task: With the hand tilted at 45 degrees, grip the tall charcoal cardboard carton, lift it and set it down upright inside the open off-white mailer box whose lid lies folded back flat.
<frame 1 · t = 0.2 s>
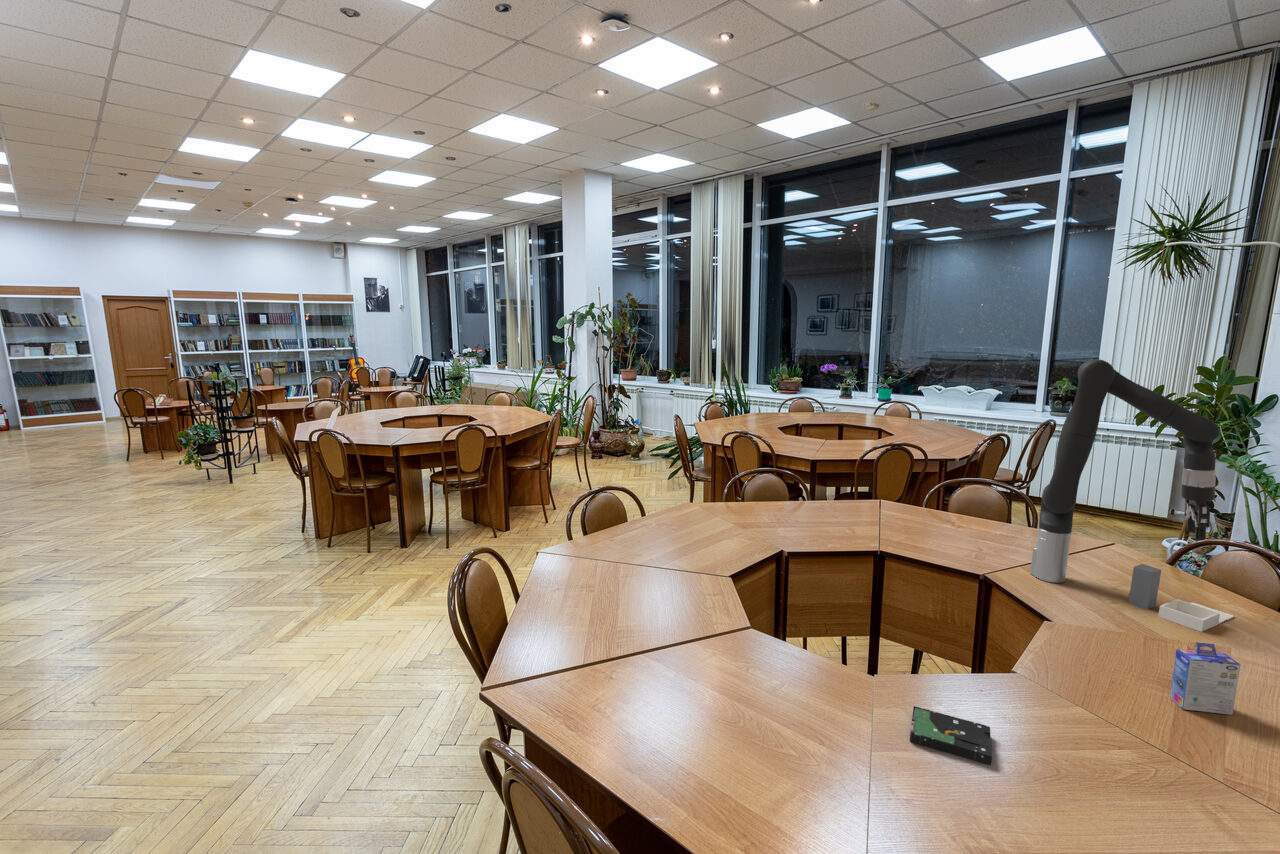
hand: (1195, 535, 186), 22 cm above the table, tool pointing down, fingers open, 8 cm apart
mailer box: (1187, 620, 179), on the table
ink cartridge box: (1199, 706, 138), on the table
charcoal carton: (1141, 604, 189), on the table
disk drive: (949, 741, 126), on the table
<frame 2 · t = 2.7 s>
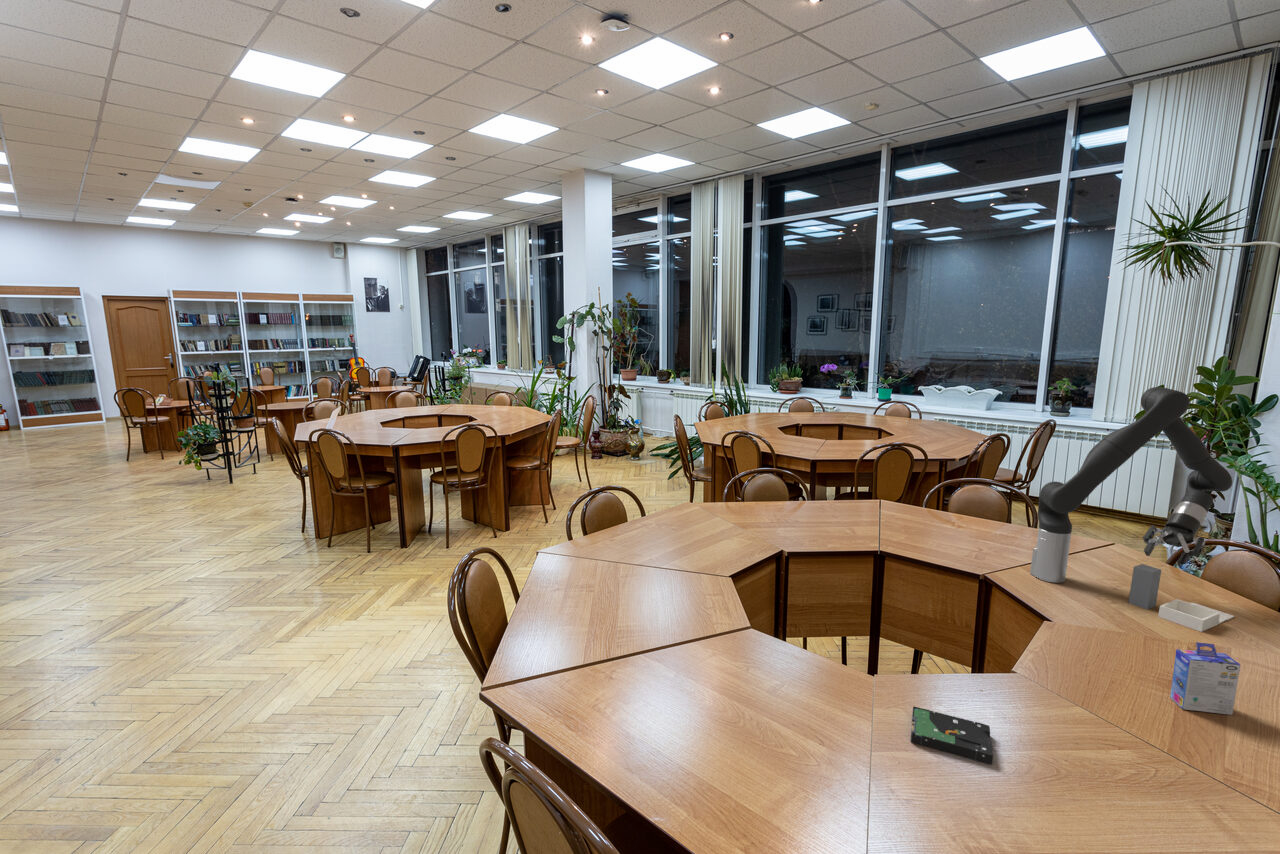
hand: (1162, 559, 191), 13 cm above the table, tool tilted 45°, fingers open, 8 cm apart
nothing on the table moved.
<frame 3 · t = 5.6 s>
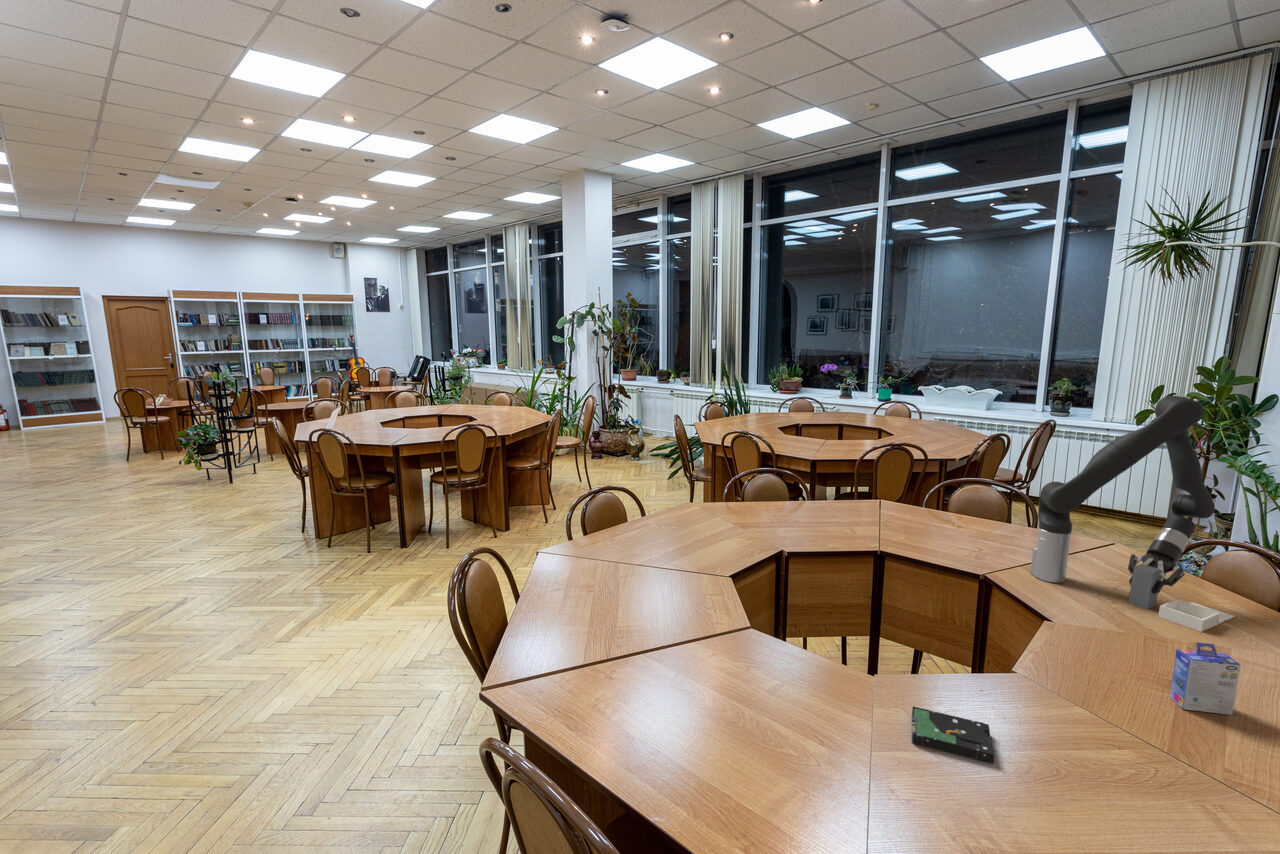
hand: (1142, 589, 188), 5 cm above the table, tool tilted 45°, fingers closed on charcoal carton, 5 cm apart
charcoal carton: (1141, 604, 189), on the table, touching gripper
everything else where it was.
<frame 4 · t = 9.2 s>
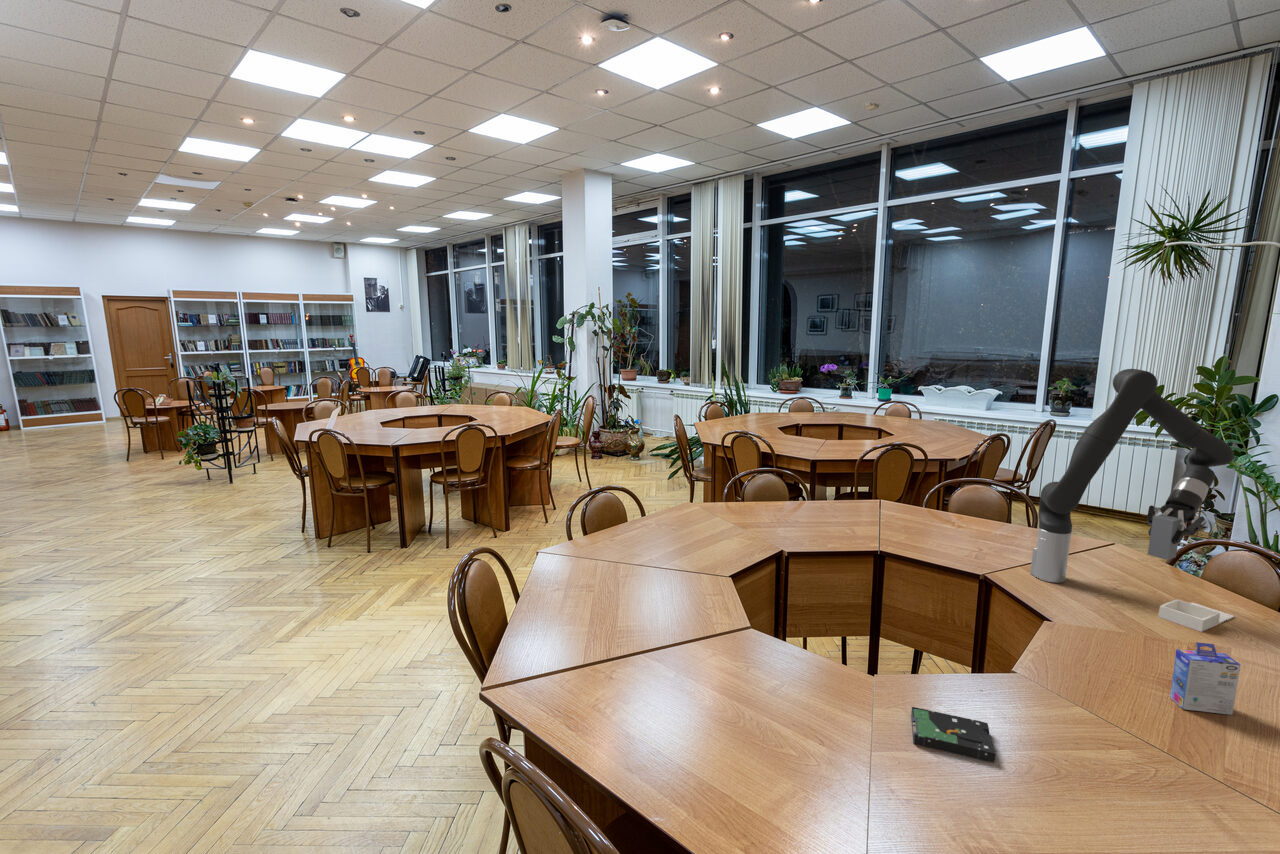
hand: (1162, 539, 183), 22 cm above the table, tool tilted 45°, fingers closed on charcoal carton, 5 cm apart
charcoal carton: (1161, 555, 184), point 17 cm above the table, touching gripper
everything else where it was.
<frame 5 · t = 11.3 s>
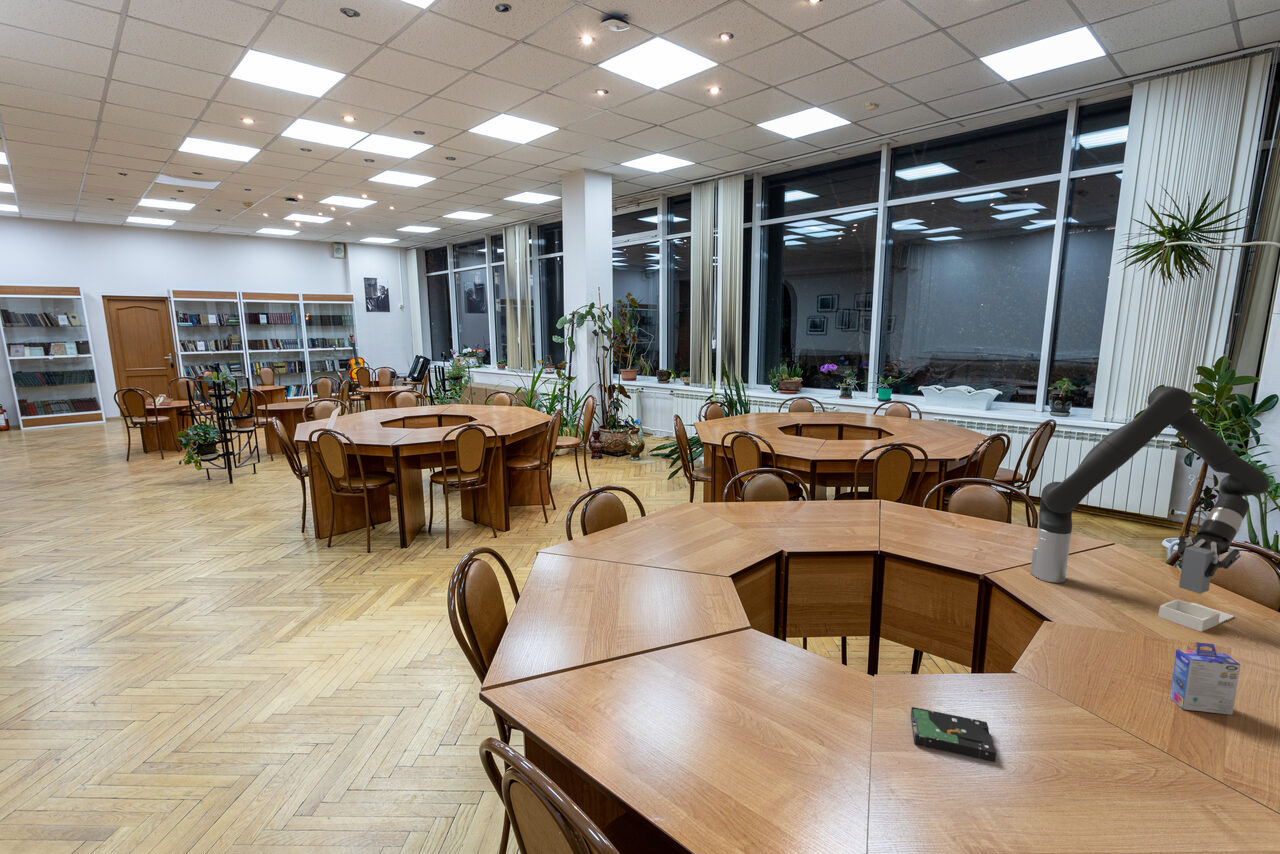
hand: (1194, 572, 176), 15 cm above the table, tool tilted 45°, fingers closed on charcoal carton, 5 cm apart
charcoal carton: (1193, 588, 177), point 10 cm above the table, touching gripper
everything else where it was.
when the fingers open (7 cm above the table, at t = 13.2 s): charcoal carton drops 1 cm, resting on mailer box.
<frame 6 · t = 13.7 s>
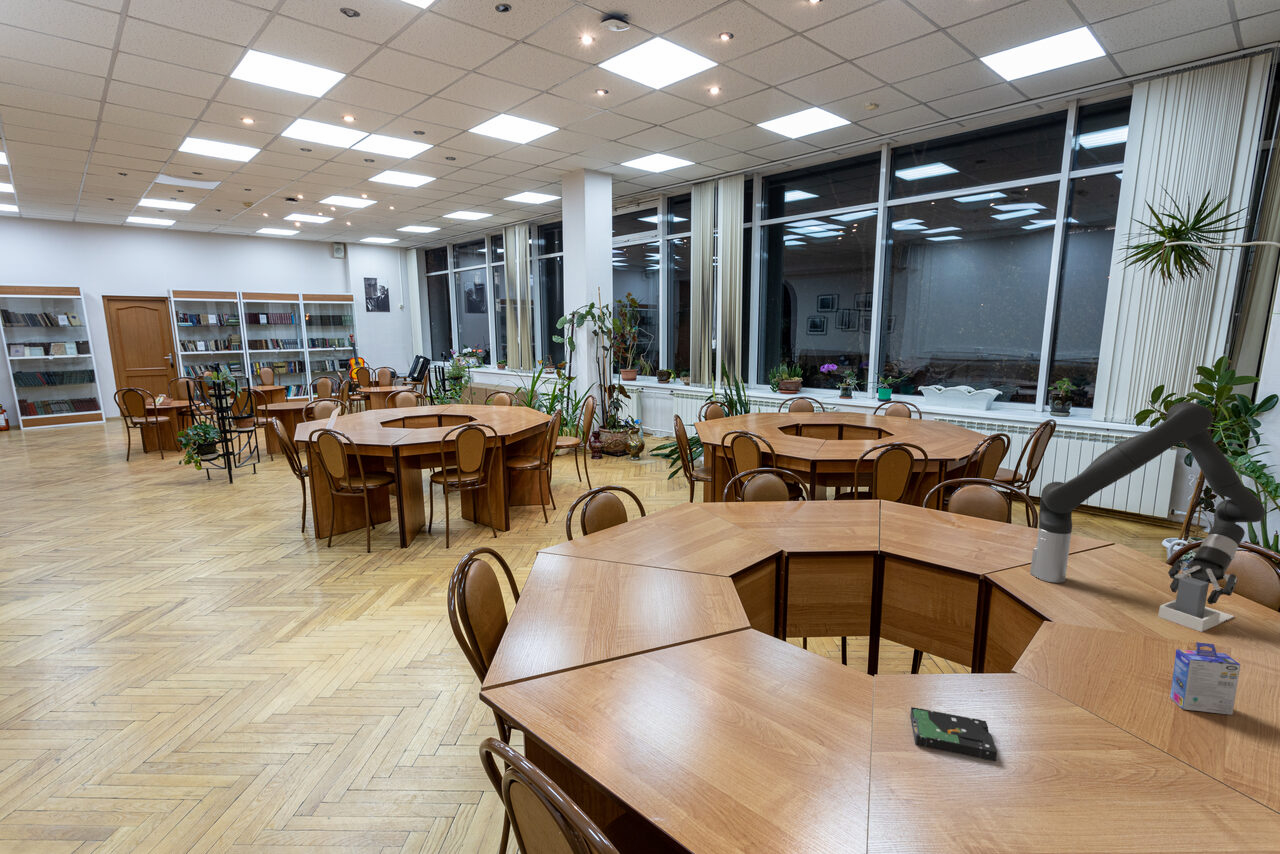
hand: (1190, 596, 177), 8 cm above the table, tool tilted 45°, fingers open, 8 cm apart
charcoal carton: (1187, 619, 179), resting on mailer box
everything else where it was.
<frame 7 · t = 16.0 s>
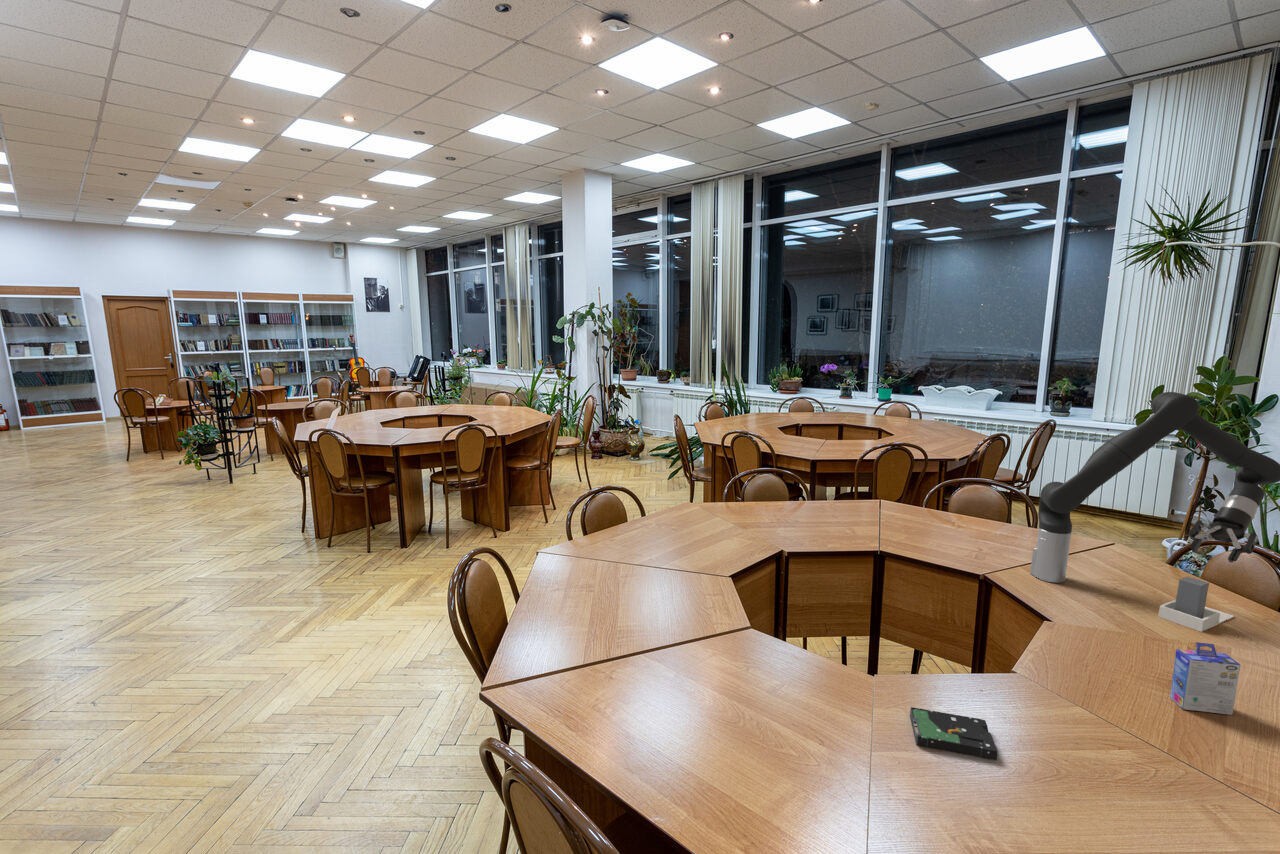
hand: (1211, 555, 181), 18 cm above the table, tool tilted 45°, fingers open, 8 cm apart
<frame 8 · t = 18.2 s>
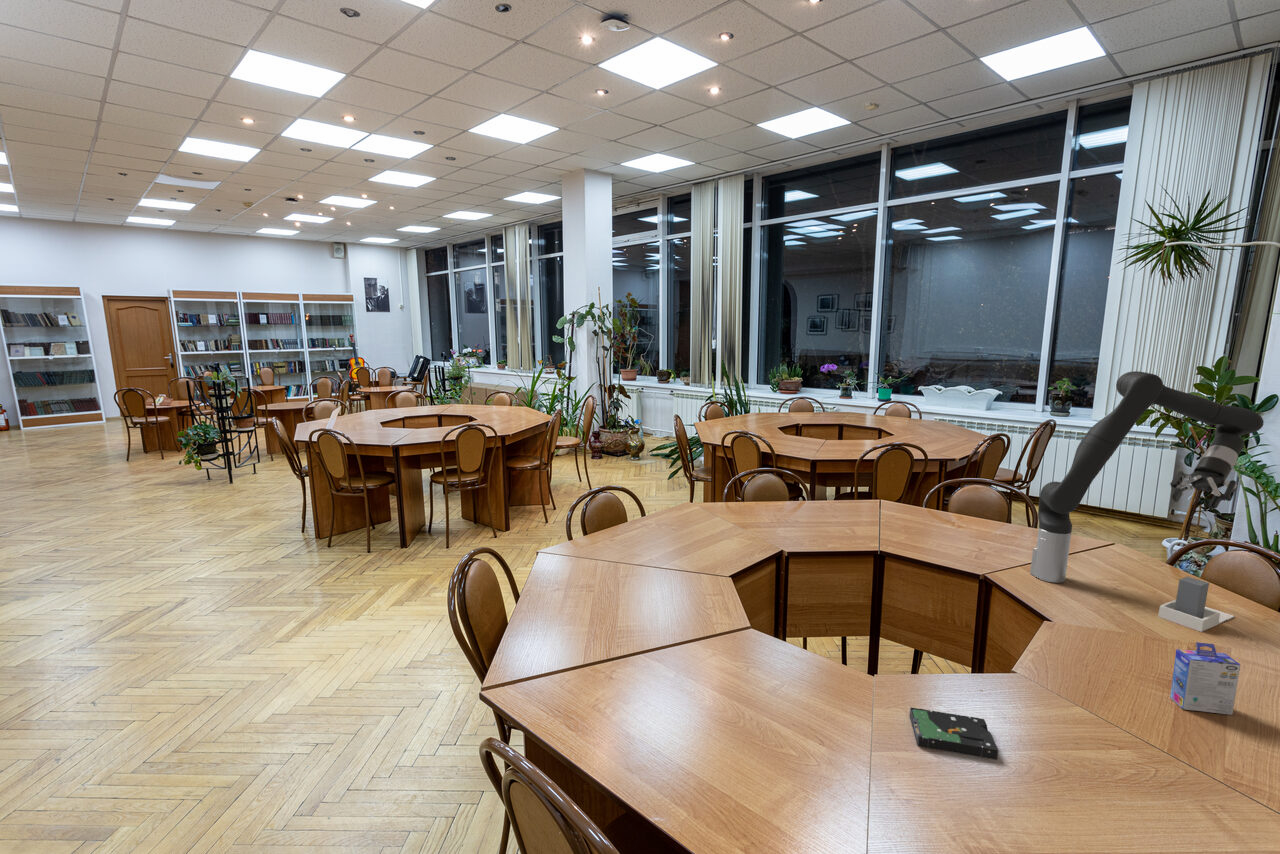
hand: (1192, 504, 183), 33 cm above the table, tool tilted 45°, fingers open, 8 cm apart
at the end: charcoal carton 0.2 cm off-centre on the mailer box, point 0.2 cm above the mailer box's base; charcoal carton tilted 0°; the gripper is holding nothing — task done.
